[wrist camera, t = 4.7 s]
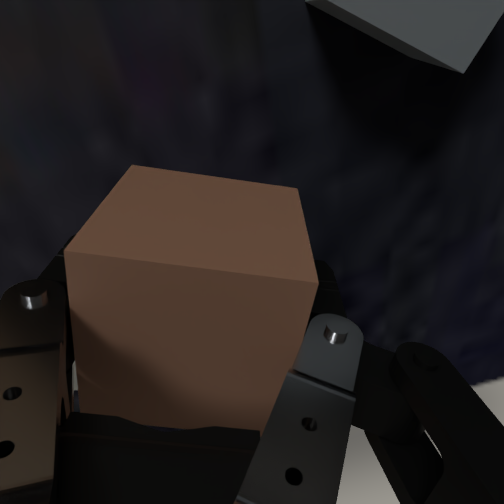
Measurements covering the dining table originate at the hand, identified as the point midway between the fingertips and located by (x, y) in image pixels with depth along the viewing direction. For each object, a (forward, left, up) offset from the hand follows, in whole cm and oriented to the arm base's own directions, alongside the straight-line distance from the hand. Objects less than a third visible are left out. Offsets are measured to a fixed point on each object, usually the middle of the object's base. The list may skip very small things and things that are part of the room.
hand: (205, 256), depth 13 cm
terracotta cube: (0, 0, -1) cm, 1 cm away
